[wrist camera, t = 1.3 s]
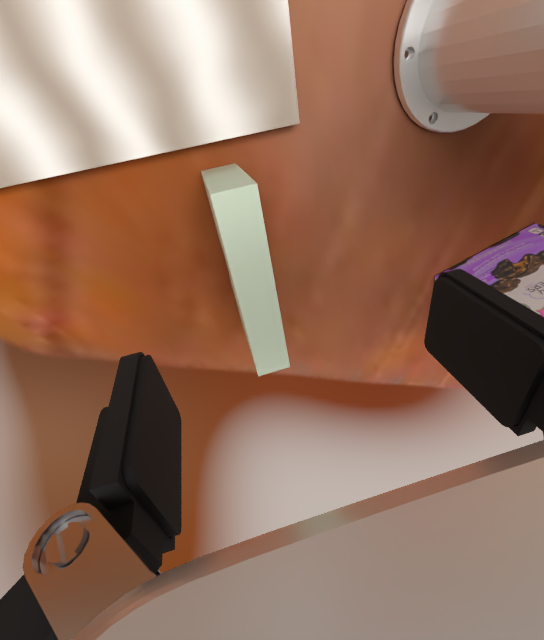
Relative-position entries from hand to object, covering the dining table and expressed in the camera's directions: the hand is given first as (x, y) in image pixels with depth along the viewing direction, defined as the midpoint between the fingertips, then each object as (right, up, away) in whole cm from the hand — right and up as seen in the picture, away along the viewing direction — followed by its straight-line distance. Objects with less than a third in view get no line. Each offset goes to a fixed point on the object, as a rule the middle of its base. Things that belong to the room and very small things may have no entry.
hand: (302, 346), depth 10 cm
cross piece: (-4, +7, +21) cm, 23 cm away
